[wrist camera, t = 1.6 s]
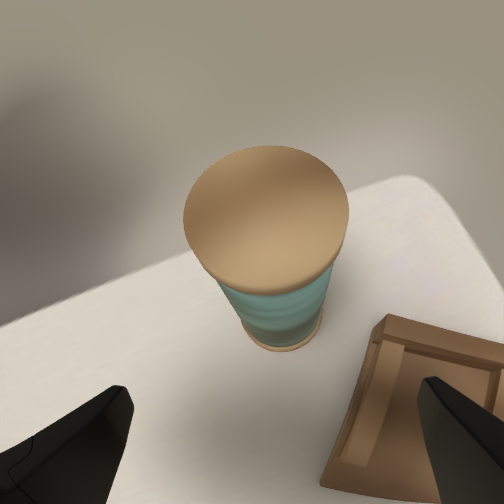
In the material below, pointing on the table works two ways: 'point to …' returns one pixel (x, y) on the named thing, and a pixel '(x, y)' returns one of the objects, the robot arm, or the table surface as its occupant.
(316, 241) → the oak spool
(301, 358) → the table surface
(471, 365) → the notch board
